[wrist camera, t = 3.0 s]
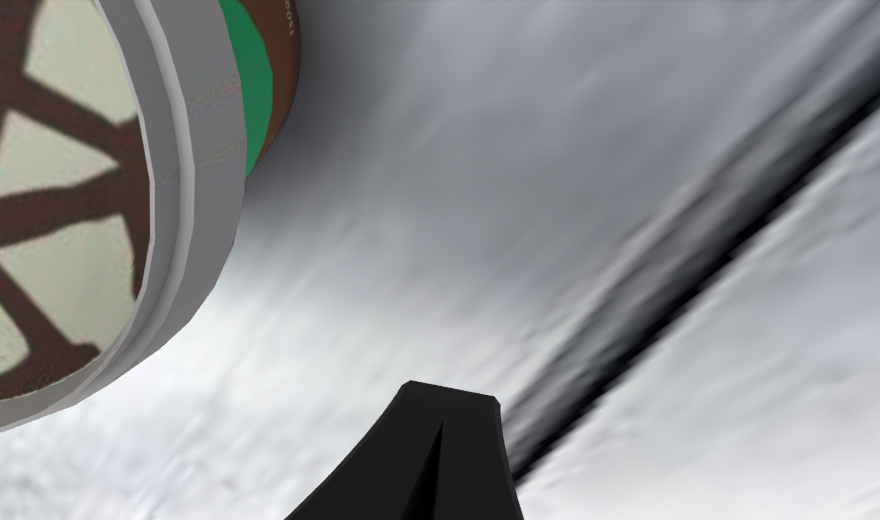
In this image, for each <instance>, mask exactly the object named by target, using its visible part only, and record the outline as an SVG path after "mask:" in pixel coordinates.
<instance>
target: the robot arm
mask: <svg viewBox="0 0 880 520" xmlns="http://www.w3.org/2000/svg"><path fill="white" fill-rule="evenodd" d="M284 520H524V518H523V515H522V511H521V508H520V504H519V501H518V498H517V494H516V491H515V487H514V484H513V480H512V476H511V472H510V468H509V463H508V459H507V454H506V449H505V444H504V438H503V432H502V425H501V413H500V403H499V402H498V401H497V399H496V398H495V397H494V396H489V395H484V394H479V393H474V392H469V391H464V390H458V389H453V388H448V387H443V386H438V385H433V384H427V383H422V382H417V381H412V380H410V381H408V382H407V383H405V384H403V385H402V386H401V388H400V389H399V391H398V392H397V394H396V395H395V397H394V398H393V400H392V401H391V403H390V404H389V405H388V407H387V408H386V410H385V411H384V412H383V414H382V415H381V416H380V417H379V419H378V420H377V421H376V422H375V424H374V425H373V426H372V427H371V429H370V430H369V431H368V432H367V433H366V435H365V436H364V437H363V438H362V439H361V441H360V442H359V443H358V444H357V445H356V446H355V447H354V448H353V449H352V451H351V452H350V453H349V454H348V455H347V456H346V457H345V458H344V460H343V461H342V462H341V463H340V464H339V465H338V466H337V467H336V468H335V470H334V471H333V472H332V473H331V474H330V475H329V476H328V477H327V478H326V479H325V480H324V481H323V482H322V483H321V484H320V485H319V486H318V487H317V488H316V489H315V490H314V491H313V492H312V493H311V494H310V495H309V496H308V497H307V498H306V499H305V500H304V501H303V502H302V503H301V504H300V505H299V506H298V507H297V508H296V509H295V510H294V511H293V512H292V513H291V514H289V515H288V516H287V517H286V518H285V519H284Z"/></svg>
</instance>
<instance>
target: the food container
mask: <svg viewBox="0 0 880 520" xmlns="http://www.w3.org/2000/svg"><path fill="white" fill-rule="evenodd" d="M300 56H301V42H300V30H299V18H298V14H297V9H296V5H295V1H294V0H0V432H4V431H7V430H9V429H12V428H15V427H17V426H20V425H23V424H25V423H28V422H31V421H33V420H36V419H39V418H41V417H44V416H46V415H49V414H52V413H55V412H57V411H60V410H63V409H66V408H68V407H71V406H74V405H76V404H77V403H79V402H81V401H82V400H84V399H86V398H87V397H89V396H91V395H92V394H94V393H96V392H97V391H99V390H101V389H102V388H104V387H106V386H107V385H109V384H110V383H112V382H113V381H115V380H116V379H118V378H119V377H120V376H122V375H123V374H125V373H126V372H128V371H129V370H130V369H132V368H133V367H135V366H136V365H138V364H139V363H140V362H142V361H143V360H145V359H146V358H148V357H149V356H150V355H152V354H153V353H155V352H156V351H158V350H159V349H160V348H161V347H162V346H164V345H165V344H166V343H167V342H168V341H169V340H170V339H171V338H172V337H173V336H174V335H175V334H176V333H178V332H179V331H180V330H181V329H182V328H183V327H184V326H185V325H186V324H187V323H188V322H189V321H190V320H191V319H192V317H193V316H194V315H195V313H196V312H197V310H198V309H199V308H200V306H201V305H202V303H203V302H204V300H205V299H206V298H207V296H208V295H209V293H210V292H211V291H212V289H213V288H214V286H215V284H216V282H217V280H218V278H219V275H220V273H221V271H222V269H223V266H224V264H225V262H226V260H227V257H228V255H229V253H230V251H231V248H232V246H233V243H234V238H235V234H236V230H237V226H238V221H239V217H240V213H241V208H242V204H243V200H244V192H245V180H246V178H247V177H248V176H249V174H250V173H251V171H252V170H253V169H254V167H255V166H256V164H257V163H258V161H259V160H260V159H261V157H262V156H263V154H264V153H265V151H266V150H267V149H268V147H269V146H270V144H271V143H272V141H273V140H274V138H275V137H276V135H277V134H278V132H279V131H280V129H281V128H282V126H283V124H284V122H285V120H286V117H287V115H288V113H289V110H290V108H291V106H292V103H293V100H294V96H295V92H296V87H297V83H298V79H299V70H300Z"/></svg>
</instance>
